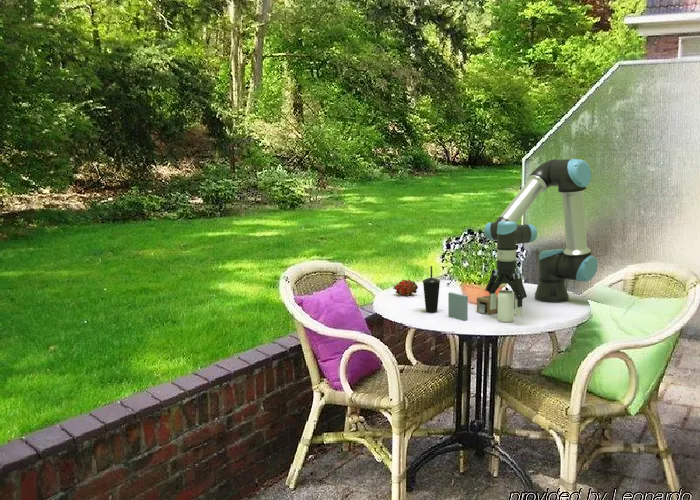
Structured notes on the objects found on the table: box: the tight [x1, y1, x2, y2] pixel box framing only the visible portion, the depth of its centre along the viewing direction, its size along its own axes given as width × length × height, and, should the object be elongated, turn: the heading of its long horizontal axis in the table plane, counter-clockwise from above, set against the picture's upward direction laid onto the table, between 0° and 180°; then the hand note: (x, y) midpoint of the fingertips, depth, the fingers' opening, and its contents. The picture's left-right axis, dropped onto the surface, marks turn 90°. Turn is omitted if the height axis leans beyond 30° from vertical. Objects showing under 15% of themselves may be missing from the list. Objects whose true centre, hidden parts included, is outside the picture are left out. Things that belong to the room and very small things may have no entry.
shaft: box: [477, 292, 516, 314], centre depth 301 cm, size 18×6×7 cm, turn 123°
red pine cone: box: [392, 279, 419, 297], centre depth 338 cm, size 8×8×12 cm
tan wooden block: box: [476, 295, 498, 316], centre depth 299 cm, size 8×8×6 cm
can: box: [497, 289, 515, 323], centre depth 283 cm, size 6×6×12 cm
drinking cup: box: [422, 265, 441, 314], centre depth 301 cm, size 8×8×20 cm
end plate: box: [447, 291, 469, 322], centre depth 289 cm, size 2×10×10 cm, turn 33°
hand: (505, 312), depth 283 cm, fingers open, 13 cm apart
